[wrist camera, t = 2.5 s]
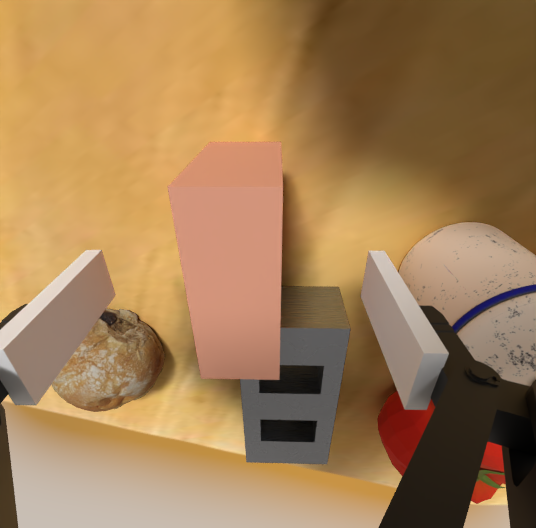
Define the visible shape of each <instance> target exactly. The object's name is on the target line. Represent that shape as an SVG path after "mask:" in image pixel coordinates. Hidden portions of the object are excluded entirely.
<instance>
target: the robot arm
mask: <svg viewBox="0 0 536 528" xmlns="http://www.w3.org/2000/svg"><path fill="white" fill-rule="evenodd" d="M114 297H115V292H114V288H113V285H112V282H111V279H110V275H109V272H108V269H107V266H106V262H105V259H104V256H103V253H102V250H86V251H85V252H84V253H82V254H81V255H80V256H79V257H78V258H77V259H76V260H75V261H74V262H73V263H72V264H71V265H70V266H68V267H67V268H66V269H65V270H64V271H63V272H62V273H61V274H60V275H59V276H58V277H57V278H56V279H54V280H53V281H52V282H51V283H50V284H49V285H48V286H47V287H46V288H45V289H44V290H43V291H42V292H41V293H39V294H38V295H37V296H36V297H35V298H34V299H33V300H32V301H31V302H30V303H29V304H24V305H23V306H21V307H19V308H17V309H16V310H14V311H12V312H11V313H10V314H9V315H8V316H7V317H5V318H4V319H3V320H2V322H1V323H0V528H18V521H17V513H16V504H15V495H14V486H13V478H12V470H11V460H10V452H9V443H8V434H7V425H6V417H5V409H4V408H3V406H2V404H1V402H2V401H3V400H4V398H5V397H6V396H7V395H9V396H10V398H11V399H12V401H13V402H14V404H15V405H37V403H38V402H39V401H40V399H41V398H42V396H43V395H44V394H45V392H46V391H47V390H48V388H49V387H50V385H51V384H52V383H53V381H54V380H55V378H56V377H57V376H58V374H59V373H60V372H61V370H62V369H63V367H64V366H65V365H66V363H67V362H68V360H69V359H70V358H71V356H72V355H73V354H74V352H75V351H76V349H77V348H78V347H79V345H80V344H81V342H82V341H83V340H84V338H85V337H86V336H87V334H88V333H89V331H90V330H91V329H92V327H93V326H94V324H95V323H96V322H97V320H98V319H99V318H100V316H101V315H102V313H103V312H104V311H105V309H106V308H107V306H108V305H109V304H110V302H111V301H112V300H113V298H114ZM361 299H362V301H363V304H364V306H365V309H366V312H367V314H368V317H369V319H370V322H371V324H372V327H373V330H374V332H375V335H376V337H377V340H378V342H379V345H380V348H381V350H382V353H383V355H384V358H385V360H386V363H387V365H388V368H389V371H390V373H391V376H392V378H393V381H394V383H395V386H396V389H397V391H398V394H399V396H400V399H401V401H402V404H403V407H404V409H405V410H427V408H428V405H429V403H430V400H432V402H433V404H434V406H435V409H434V411H433V413H432V415H431V418H430V420H429V422H428V424H427V426H426V428H425V430H424V432H423V435H422V437H421V439H420V441H419V443H418V445H417V447H416V449H415V451H414V454H413V456H412V458H411V460H410V462H409V464H408V466H407V468H406V471H405V473H404V475H403V477H402V479H401V481H400V483H399V485H398V487H397V490H396V492H395V494H394V496H393V498H392V500H391V502H390V505H389V507H388V509H387V511H386V513H385V515H384V517H383V519H382V522H381V524H380V526H379V528H463V526H464V523H465V519H466V516H467V512H468V508H469V505H470V502H471V498H472V495H473V491H474V488H475V484H476V481H477V477H478V474H479V470H480V467H481V463H482V460H483V456H484V453H485V449H486V446H487V442H491V443H494V444H498V445H501V446H502V455H503V464H504V473H505V482H506V491H507V501H508V510H509V519H510V528H536V380H534V381H533V383H532V384H531V386H527V385H523V384H519V383H515V382H511V381H507V380H504V379H502V378H501V377H500V375H499V374H498V373H497V372H496V371H495V370H494V369H493V368H491V367H490V366H488V365H486V364H484V363H482V362H479V361H476V360H475V359H474V358H473V356H472V355H471V354H470V352H469V351H468V349H467V348H466V347H465V345H464V344H463V342H462V341H461V339H460V338H459V337H458V335H457V334H456V333H455V332H454V330H453V328H452V327H451V325H449V322H448V321H447V320H446V318H445V317H444V315H443V314H442V313H441V312H439V311H438V310H437V309H435V308H434V307H433V306H422V305H418V303H417V302H416V300H415V299H414V297H413V295H412V294H411V292H410V291H409V289H408V287H407V286H406V284H405V283H404V281H403V279H402V278H401V276H400V275H399V273H398V271H397V270H396V268H395V267H394V265H393V264H392V262H391V260H390V259H389V257H388V256H387V254H386V252H385V251H369V252H368V258H367V263H366V269H365V275H364V280H363V286H362V291H361Z"/></svg>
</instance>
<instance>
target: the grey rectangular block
mask: <svg viewBox="0 0 536 528" xmlns="http://www.w3.org/2000/svg"><path fill="white" fill-rule="evenodd" d="M349 334H350V325H349V322H348V318H347V315H346V311H345V307H344V304H343V300H342V297H341V293H340V290H339V287H299V286H281V322H280V375H279V380H256V379H240V384H241V397H242V410H243V422H244V435H245V448H246V460H247V462H260V463H299V464H327V462H328V456H329V450H330V444H331V438H332V433H333V427H334V421H335V415H336V410H337V404H338V398H339V392H340V386H341V381H342V375H343V369H344V363H345V357H346V352H347V346H348V340H349Z"/></svg>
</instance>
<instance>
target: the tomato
mask: <svg viewBox="0 0 536 528" xmlns="http://www.w3.org/2000/svg"><path fill="white" fill-rule="evenodd" d="M434 409H435V406H434V404H433V402H432V400H430V403H429V405H428V408H427V410H405V409H404V407H403V404H402V401H401V399H400V396H399V394H398V391H396V392H394V393H393V394H392V395H391V396H389V397H388V399H387V400H386V402H385V404H384V405H383V407H382V409H381V411H380V414H379V416H378V430H379V434H380V437H381V440H382V443H383V445H384V447H385V449H386V452H387V454H388V456H389V458H390V460H391V462H392V464H393V465H394V467H395V468H396V469H397V470H398V471H399V473H400V474H401V475H402V476H403V475H404V473H405V471H406V468H407V466H408V464H409V462H410V460H411V458H412V456H413V454H414V451H415V449H416V447H417V445H418V443H419V441H420V439H421V437H422V435H423V432H424V430H425V428H426V426H427V424H428V422H429V420H430V418H431V415H432V413H433V411H434ZM502 483H503V484H506V482H505V473H504V464H503V455H502V446H501V445H498V444H494V443H491V442H487V446H486V449H485V453H484V456H483V460H482V463H481V467H480V470H479V474H478V477H477V481H476V484H475V488H474V491H473V495H472V498H471V501H473V502H474V503H476V504H478V503H480V502H482V501H484V500H488V499H491V497H492V496H493V495H494V493H495V492H496V491H497V489H498V488H505V487H501V484H502Z"/></svg>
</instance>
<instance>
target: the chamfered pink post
mask: <svg viewBox="0 0 536 528" xmlns="http://www.w3.org/2000/svg"><path fill="white" fill-rule="evenodd" d="M168 192H169V198H170V203H171V209H172V215H173V220H174V226H175V232H176V238H177V243H178V249H179V255H180V261H181V266H182V272H183V278H184V284H185V289H186V295H187V301H188V306H189V312H190V318H191V324H192V329H193V335H194V341H195V347H196V352H197V358H198V364H199V369H200V375H201V379H256V380H279V375H280V322H281V269H282V216H283V175H282V152H281V142H209V143H208V144H207V145H206V147H205V148H204V149H203V150H202V151H201V152H200V153H199V154H198V155H197V156H196V157H195V158H194V159H193V160H192V161H191V162H190V163H189V165H188V166H187V167H186V168H185V169H184V170H183V171H182V172H181V173H180V174H179V175H178V176H177V177H176V178H175V179H174V180H173V181H172V183H171V184H170V185H169V186H168Z"/></svg>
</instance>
